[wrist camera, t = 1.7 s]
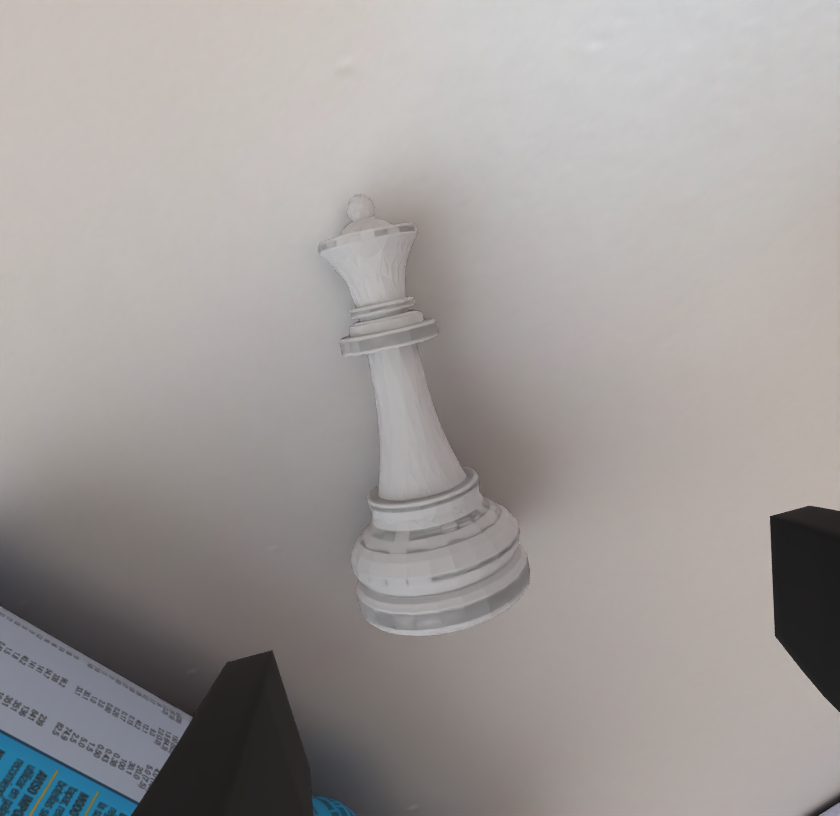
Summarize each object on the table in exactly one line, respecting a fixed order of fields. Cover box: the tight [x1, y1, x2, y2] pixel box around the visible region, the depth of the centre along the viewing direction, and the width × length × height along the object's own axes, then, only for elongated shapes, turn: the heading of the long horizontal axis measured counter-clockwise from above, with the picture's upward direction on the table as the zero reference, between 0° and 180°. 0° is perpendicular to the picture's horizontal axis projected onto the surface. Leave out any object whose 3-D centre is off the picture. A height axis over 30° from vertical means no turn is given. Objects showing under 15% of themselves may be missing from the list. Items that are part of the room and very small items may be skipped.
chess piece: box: [318, 195, 530, 636], centre depth 17 cm, size 4×4×10 cm
